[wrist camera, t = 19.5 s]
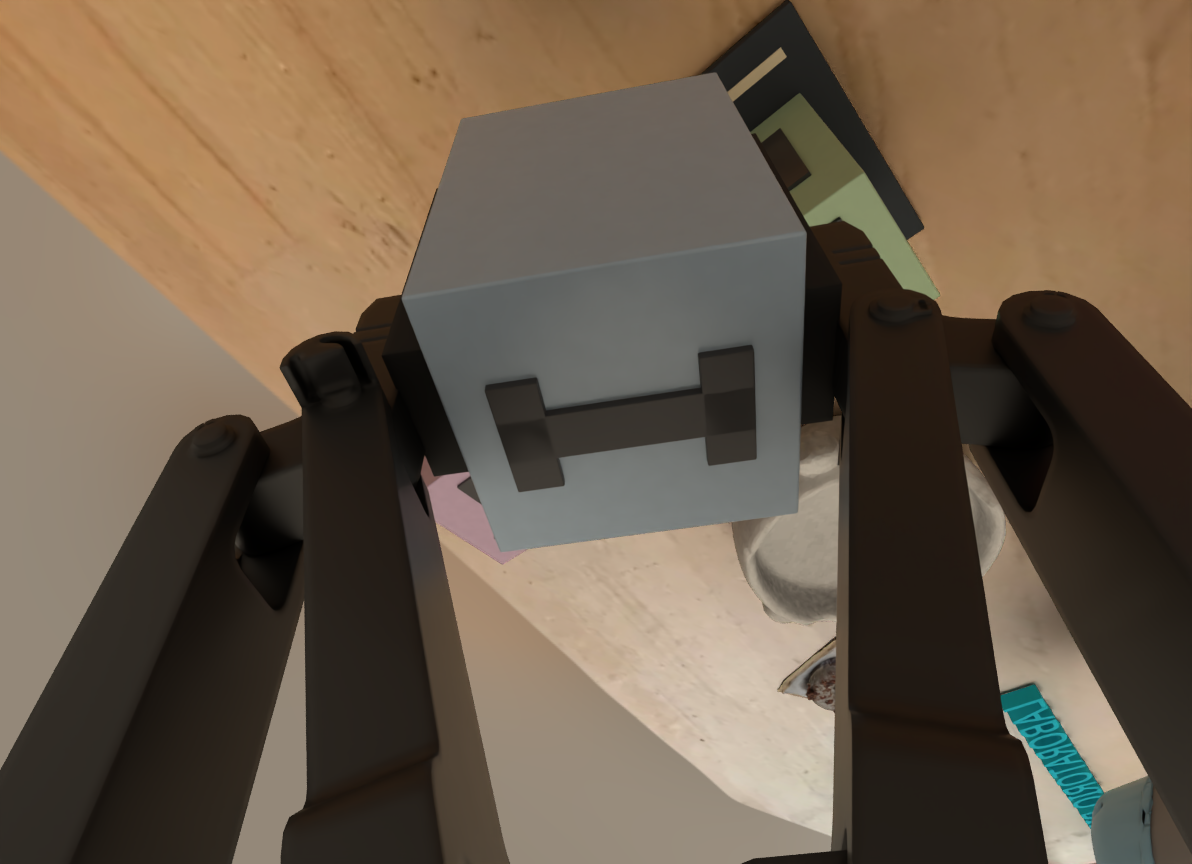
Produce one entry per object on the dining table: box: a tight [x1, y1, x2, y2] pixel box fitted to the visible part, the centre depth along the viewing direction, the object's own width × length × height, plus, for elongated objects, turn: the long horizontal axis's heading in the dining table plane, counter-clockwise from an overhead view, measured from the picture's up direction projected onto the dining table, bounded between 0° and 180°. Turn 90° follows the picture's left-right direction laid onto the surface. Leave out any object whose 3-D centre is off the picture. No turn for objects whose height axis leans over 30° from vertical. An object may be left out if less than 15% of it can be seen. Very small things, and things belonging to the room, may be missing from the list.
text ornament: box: [1001, 684, 1104, 829], centre depth 69 cm, size 45×3×1 cm, turn 36°
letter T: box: [421, 456, 527, 564], centre depth 32 cm, size 6×6×8 cm
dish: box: [732, 415, 1006, 626], centre depth 40 cm, size 14×14×5 cm
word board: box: [700, 0, 924, 240], centre depth 32 cm, size 23×11×1 cm, turn 131°
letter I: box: [402, 72, 807, 552], centre depth 14 cm, size 6×6×8 cm
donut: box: [778, 640, 836, 713], centre depth 54 cm, size 8×8×2 cm
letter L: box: [750, 93, 940, 300], centre depth 26 cm, size 6×6×8 cm
